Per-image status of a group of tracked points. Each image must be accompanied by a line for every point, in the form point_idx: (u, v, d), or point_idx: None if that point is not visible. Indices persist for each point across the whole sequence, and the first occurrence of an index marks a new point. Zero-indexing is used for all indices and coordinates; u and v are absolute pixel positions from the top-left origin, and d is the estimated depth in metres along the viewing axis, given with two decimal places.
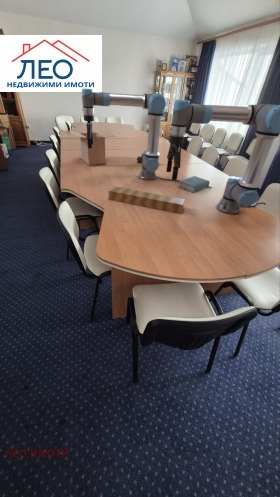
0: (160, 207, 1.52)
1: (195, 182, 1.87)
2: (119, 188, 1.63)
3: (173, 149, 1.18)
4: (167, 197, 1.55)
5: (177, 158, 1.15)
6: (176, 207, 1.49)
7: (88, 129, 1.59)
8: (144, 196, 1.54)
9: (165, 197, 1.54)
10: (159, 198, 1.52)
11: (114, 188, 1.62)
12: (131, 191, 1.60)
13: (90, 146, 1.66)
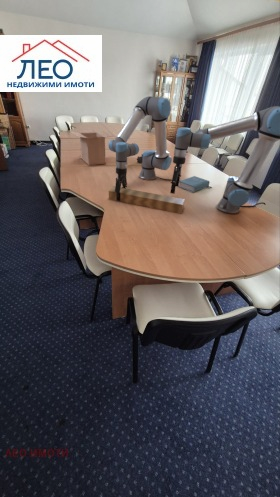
0: (160, 207, 1.52)
1: (195, 182, 1.87)
2: None
3: None
4: (167, 197, 1.55)
5: None
6: (176, 207, 1.49)
7: None
8: (144, 196, 1.54)
9: (165, 197, 1.54)
10: (159, 198, 1.52)
11: (114, 188, 1.62)
12: (131, 191, 1.60)
13: None
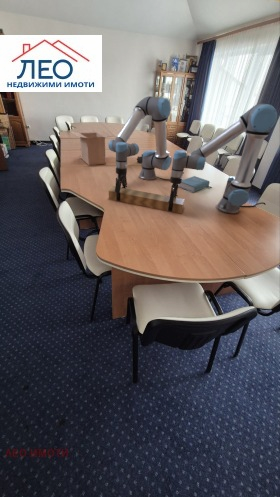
0: (160, 207, 1.52)
1: (195, 182, 1.87)
2: None
3: None
4: (167, 197, 1.55)
5: None
6: (176, 207, 1.49)
7: None
8: (144, 196, 1.54)
9: (165, 197, 1.54)
10: (159, 198, 1.52)
11: (114, 188, 1.62)
12: (131, 191, 1.60)
13: None
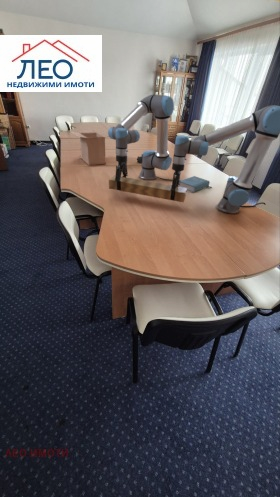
0: (162, 196, 1.48)
1: (195, 182, 1.87)
2: None
3: None
4: (169, 185, 1.50)
5: None
6: (178, 195, 1.44)
7: None
8: (145, 185, 1.49)
9: (167, 186, 1.50)
10: (161, 187, 1.47)
11: None
12: (132, 180, 1.55)
13: None
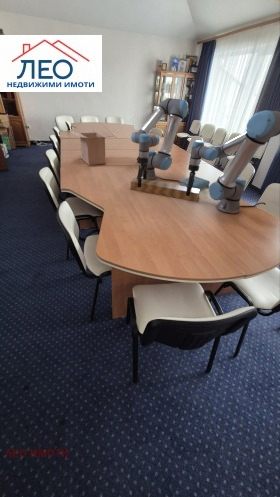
0: (178, 196, 1.70)
1: (195, 182, 1.87)
2: None
3: None
4: (184, 187, 1.73)
5: None
6: (192, 195, 1.66)
7: None
8: (163, 186, 1.71)
9: (182, 187, 1.72)
10: (177, 188, 1.70)
11: (136, 179, 1.80)
12: (151, 181, 1.78)
13: None
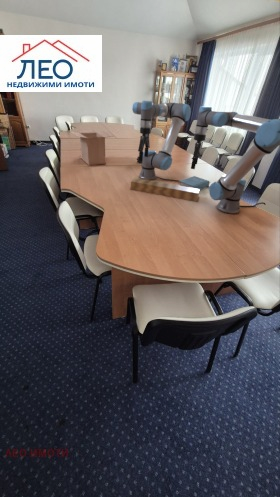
0: (178, 196, 1.70)
1: (195, 182, 1.87)
2: (140, 179, 1.80)
3: None
4: (184, 187, 1.73)
5: None
6: (192, 195, 1.66)
7: None
8: (163, 186, 1.71)
9: (182, 187, 1.72)
10: (177, 188, 1.70)
11: (136, 179, 1.80)
12: (151, 181, 1.78)
13: None
